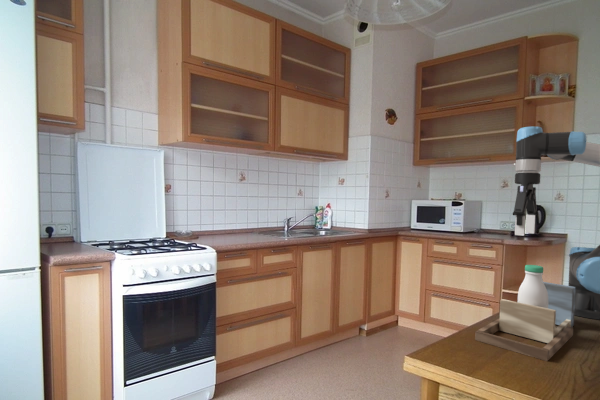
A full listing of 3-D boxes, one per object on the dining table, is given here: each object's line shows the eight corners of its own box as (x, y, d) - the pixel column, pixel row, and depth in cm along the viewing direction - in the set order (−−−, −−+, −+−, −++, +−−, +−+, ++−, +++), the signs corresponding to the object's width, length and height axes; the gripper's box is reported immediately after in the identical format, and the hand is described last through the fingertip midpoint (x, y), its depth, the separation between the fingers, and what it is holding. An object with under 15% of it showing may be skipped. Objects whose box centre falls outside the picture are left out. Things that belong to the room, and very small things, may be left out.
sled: (525, 314, 129) (526, 279, 129) (573, 325, 119) (575, 287, 119) (499, 330, 113) (500, 290, 112) (552, 344, 103) (554, 300, 102)
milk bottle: (551, 340, 107) (554, 269, 106) (521, 337, 108) (523, 267, 108) (541, 330, 114) (543, 264, 114) (512, 327, 116) (515, 262, 116)
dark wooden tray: (508, 320, 123) (509, 312, 123) (572, 335, 111) (573, 327, 111) (475, 339, 105) (475, 331, 105) (547, 361, 93) (547, 351, 93)
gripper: (524, 174, 142) (522, 231, 143) (504, 170, 124) (501, 235, 125) (548, 174, 137) (545, 233, 138) (530, 170, 119) (527, 237, 119)
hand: (524, 234), depth 131 cm, fingers open, 13 cm apart
